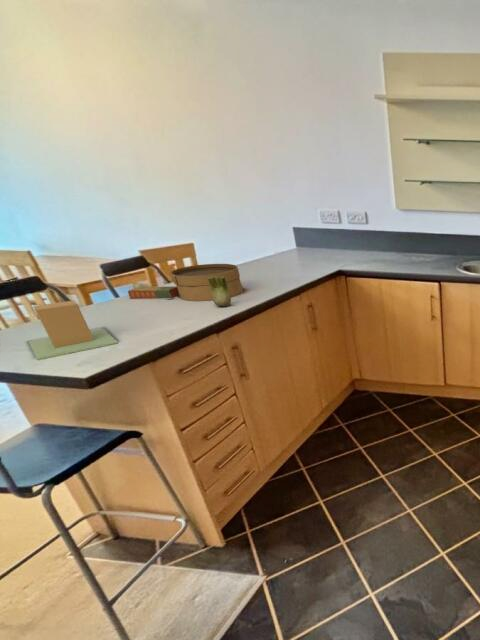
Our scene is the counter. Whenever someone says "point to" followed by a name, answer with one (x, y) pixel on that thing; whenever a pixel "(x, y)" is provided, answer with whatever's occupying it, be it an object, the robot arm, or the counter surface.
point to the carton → (153, 292)
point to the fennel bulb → (220, 292)
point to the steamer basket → (205, 280)
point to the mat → (48, 350)
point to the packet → (64, 323)
